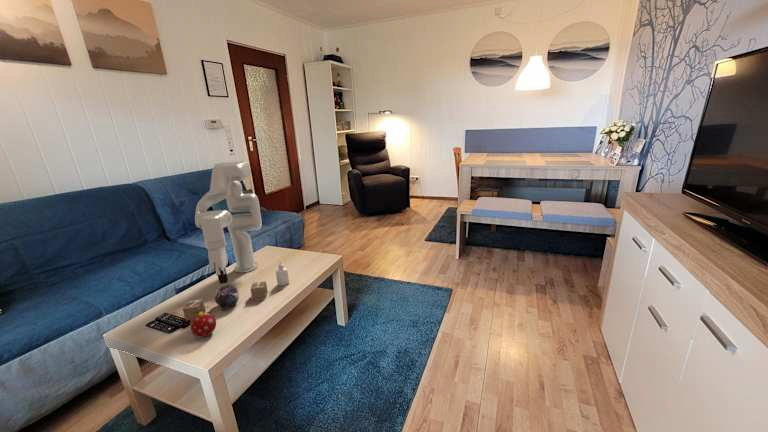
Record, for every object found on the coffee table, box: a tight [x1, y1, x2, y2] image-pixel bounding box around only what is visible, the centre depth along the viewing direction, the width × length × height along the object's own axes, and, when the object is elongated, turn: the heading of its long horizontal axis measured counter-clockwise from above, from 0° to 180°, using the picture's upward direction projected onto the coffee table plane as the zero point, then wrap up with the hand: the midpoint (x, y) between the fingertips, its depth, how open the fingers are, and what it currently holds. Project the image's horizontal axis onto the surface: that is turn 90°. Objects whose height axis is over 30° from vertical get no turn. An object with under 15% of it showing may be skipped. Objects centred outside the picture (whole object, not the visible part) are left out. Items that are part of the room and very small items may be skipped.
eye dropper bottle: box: [275, 261, 290, 287], centre depth 156 cm, size 4×6×12 cm
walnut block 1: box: [250, 280, 268, 301], centre depth 147 cm, size 6×6×6 cm
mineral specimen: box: [214, 283, 240, 310], centre depth 140 cm, size 10×10×10 cm
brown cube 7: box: [182, 298, 207, 322], centre depth 133 cm, size 6×6×6 cm
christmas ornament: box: [190, 312, 217, 338], centre depth 120 cm, size 9×9×10 cm
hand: (223, 282), depth 138 cm, fingers closed
